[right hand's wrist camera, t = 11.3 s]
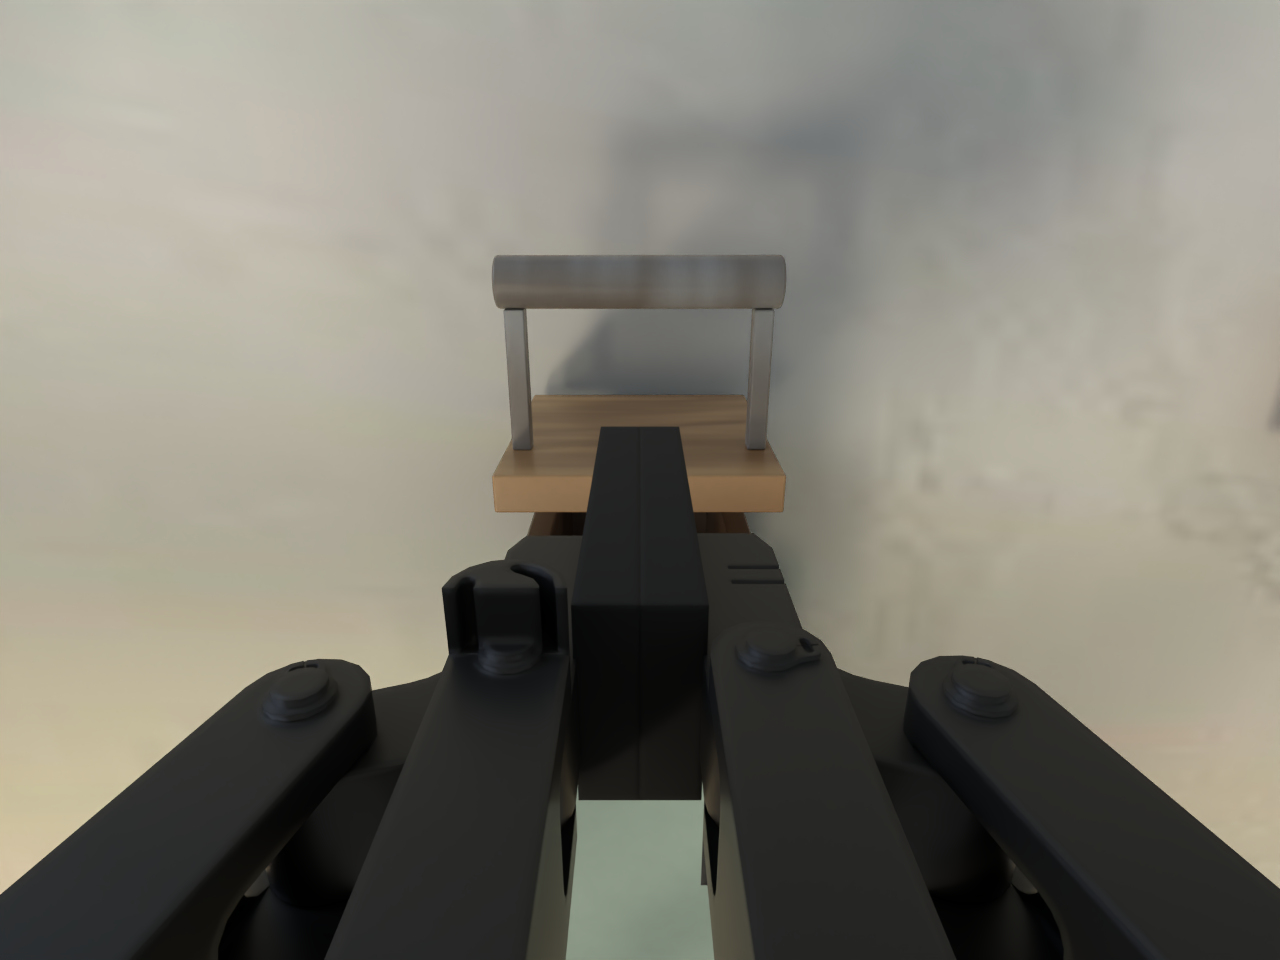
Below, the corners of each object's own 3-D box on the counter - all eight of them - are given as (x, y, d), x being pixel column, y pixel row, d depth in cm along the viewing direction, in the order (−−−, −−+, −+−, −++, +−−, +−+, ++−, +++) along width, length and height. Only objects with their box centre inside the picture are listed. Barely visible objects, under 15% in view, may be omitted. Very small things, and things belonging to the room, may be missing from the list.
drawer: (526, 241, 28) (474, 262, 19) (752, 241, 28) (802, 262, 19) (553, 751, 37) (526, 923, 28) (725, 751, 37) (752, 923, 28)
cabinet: (532, 559, 34) (485, 719, 24) (746, 559, 34) (792, 719, 24) (551, 871, 41) (521, 1100, 31) (727, 871, 41) (757, 1100, 31)
